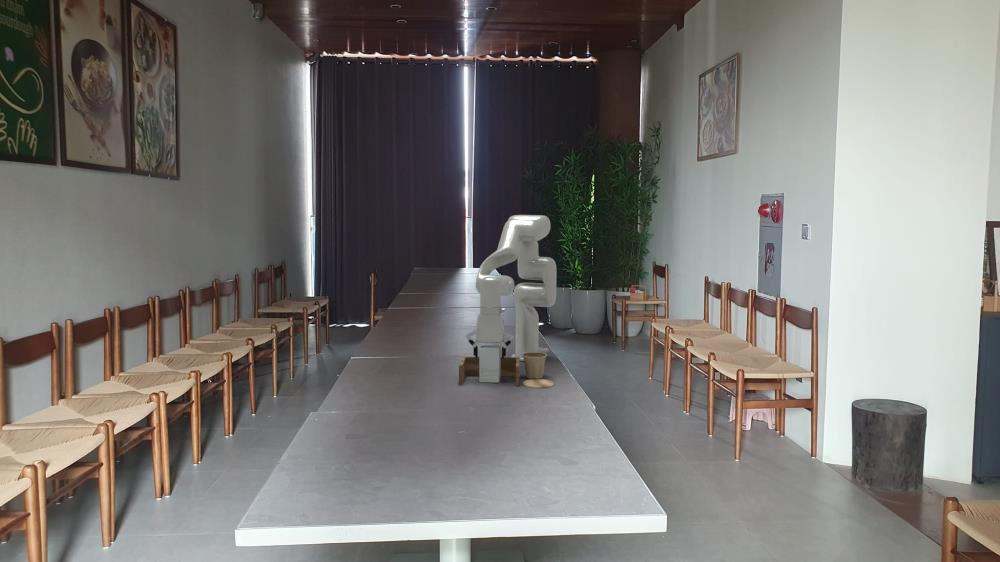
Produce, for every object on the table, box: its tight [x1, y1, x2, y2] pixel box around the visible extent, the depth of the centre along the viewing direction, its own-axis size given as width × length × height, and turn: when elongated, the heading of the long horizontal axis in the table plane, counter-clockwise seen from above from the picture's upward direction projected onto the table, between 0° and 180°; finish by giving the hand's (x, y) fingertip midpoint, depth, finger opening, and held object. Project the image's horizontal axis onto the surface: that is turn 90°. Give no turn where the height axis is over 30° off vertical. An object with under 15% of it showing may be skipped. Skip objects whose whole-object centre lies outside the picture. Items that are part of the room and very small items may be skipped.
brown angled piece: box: [458, 356, 521, 387], centre depth 274 cm, size 15×21×7 cm
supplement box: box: [478, 344, 502, 384], centre depth 274 cm, size 7×7×13 cm
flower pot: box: [522, 352, 548, 380], centre depth 279 cm, size 9×9×9 cm
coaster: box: [523, 378, 555, 389], centre depth 269 cm, size 11×11×1 cm
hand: (489, 357), depth 273 cm, fingers open, 9 cm apart
